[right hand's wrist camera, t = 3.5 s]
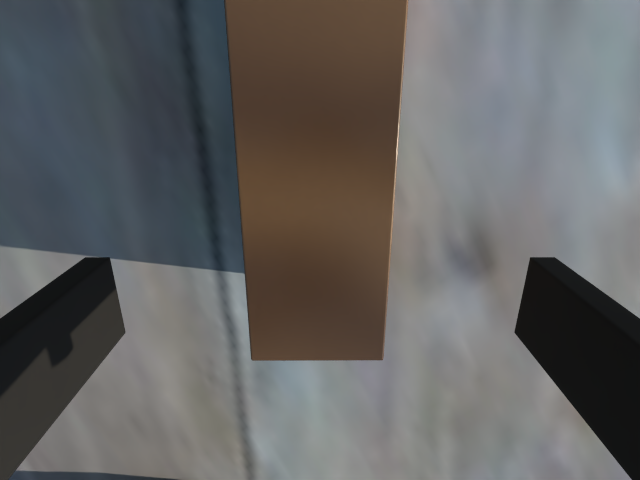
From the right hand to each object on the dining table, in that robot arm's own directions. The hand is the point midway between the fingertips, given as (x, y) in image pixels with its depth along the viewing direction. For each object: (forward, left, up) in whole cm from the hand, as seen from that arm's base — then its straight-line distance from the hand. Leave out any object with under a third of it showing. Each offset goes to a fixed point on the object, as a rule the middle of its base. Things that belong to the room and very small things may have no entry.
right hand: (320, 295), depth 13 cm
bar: (+17, +30, -12) cm, 36 cm away
